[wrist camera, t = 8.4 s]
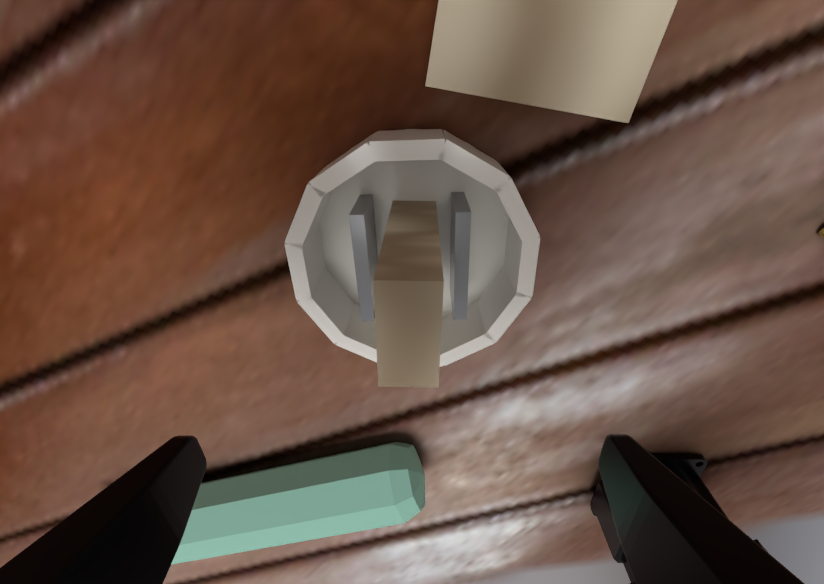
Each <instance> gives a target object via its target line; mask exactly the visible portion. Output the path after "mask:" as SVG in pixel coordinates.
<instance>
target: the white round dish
mask: <svg viewBox="0 0 824 584" xmlns="http://www.w3.org/2000/svg"><path fill="white" fill-rule="evenodd" d="M393 200H401V201H436V207H437V217H438V227H439V238H440V248H441V258H442V268H443V278H444V287H443V307H442V327H441V346H440V366H443V364H444V366H446V365H448V364H450V363H452V362H455V361H457V360H459V359H461V358H463V357H466V356H468V355H470V354H472V353H474V352H477V351H479V350H481V349H483V348H485V347H488V346H490V345H492V344H494V343H495V342H497V341H498V340H499V338H500V337H501V336H502V335H503V333H504V332H505V331H506V330H507V328H508V327H509V326H510V325H511V323H512V322H513V321H514V320H515V318H516V317H517V316H518V315H519V313H520V312H521V311H522V310H523V308H524V307H525V306H526V305H527V304H528V302H529V301H530V300H531V299H532V298H531V297H532V296H533V289H534V281H535V274H536V267H537V260H538V252H539V245H540V235H539V233H538V231H537V229H536V227H535V225H534V223H533V221H532V219H531V217H530V215H529V213H528V211H527V209H526V207H525V205H524V203H523V201H522V199H521V196H520V194H519V192H518V190H517V188H516V186H515V184H514V182H513V180H512V178H511V177H510V176H509V175H508V173H507V172H506V171H505V170H504V169H503V168H502V166H501V165H500V164H499V163H498V162H497V161H496V160H495V159H493V158H491V157H489V156H488V155H486V154H484V153H483V152H481V151H479V150H478V149H476V148H475V147H473V146H472V145H470V144H469V143H467V142H465V141H463V140H461V139H459V138H457V137H456V136H454V135H452V134H450V133H449V132H447V131H445V130H444V129H443V131H442V129H403V130H391V131H377V132H375V133H373V134H372V135H370V136H369V137H367V138H366V139H365V140H363V141H362V142H360V143H359V144H357V145H356V146H354V147H352V148H351V149H350V150H348V151H347V152H346V153H344V154H343V155H341V156H340V157H338V158H337V159H336V160H334V161H333V162H331V163H330V164H328V165H327V166H326V167H325V168H323V169H322V170H321V171H320V172H319V173H318V174H317V175H316V176H315V177H314V178H313V179H312V180H310V181H309V183H308V184H307V186H306V189H305V191H304V194H303V196H302V199H301V201H300V204H299V207H298V209H297V212H296V214H295V217H294V219H293V222H292V224H291V227H290V229H289V232H288V234H287V237H286V240H285V244H284V245H285V249H286V254H287V259H288V264H289V268H290V273H291V278H292V283H293V287H294V292H295V297H296V300H298V301H297V303H298V304H299V305H300V306H301V307H302V308H303V309H304V310H305V312H306V313H307V314H308V315H309V316H310V317H311V318H312V320H313V321H314V322H315V323H316V324H317V325H318V326H319V327H320V329H321V330H322V331H323V332H324V333H325V334H326V335H327V337H328V338H329V339H330V340H331V341H332V342H333V343H334V344H335V343H336V345H337V346H339V347H342V348H344V349H346V350H349V351H351V352H353V353H356V354H358V355H360V356H363V357H365V358H367V359H370V360H372V361H375V362H377V349H376V330H375V310H374V290H373V278H374V274H375V270H376V266H377V262H378V258H379V254H380V250H381V246H382V242H383V238H384V234H385V230H386V226H387V222H388V218H389V214H390V210H391V205H392V201H393Z"/></svg>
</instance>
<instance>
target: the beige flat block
mask: <svg viewBox="0 0 824 584" xmlns="http://www.w3.org/2000/svg"><path fill="white" fill-rule="evenodd" d="M677 1H678V0H438V7H437V13H436V19H435V26H434V32H433V39H432V45H431V52H430V58H429V64H428V71H427V77H426V84H425V86H427V87H432V88H438V89H443V90H449V91H454V92H460V93H465V94H471V95H476V96H482V97H487V98H493V99H498V100H504V101H509V102H515V103H520V104H526V105H531V106H537V107H542V108H548V109H553V110H559V111H564V112H570V113H575V114H580V115H586V116H591V117H597V118H602V119H608V120H613V121H619V122H624V123H629V120H630V118H631V115H632V113H633V110H634V108H635V105H636V103H637V100H638V98H639V95H640V93H641V90H642V88H643V86H644V83H645V81H646V78H647V76H648V73H649V71H650V68H651V66H652V63H653V61H654V58H655V56H656V53H657V51H658V48H659V46H660V43H661V41H662V38H663V36H664V33H665V31H666V28H667V26H668V23H669V21H670V18H671V16H672V13H673V11H674V8H675V6H676V3H677Z"/></svg>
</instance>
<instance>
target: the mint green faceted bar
mask: <svg viewBox="0 0 824 584" xmlns="http://www.w3.org/2000/svg"><path fill="white" fill-rule="evenodd" d="M424 505H425V476H424V472H423V468H422V465H421V461H420V458H419V456H418V454H417V452H416V450H415V448H414V445H411V444H407V443H401V442H393V443H388V444H383V445H379V446H374V447H369V448H364V449H360V450H355V451H350V452H345V453H341V454H336V455H331V456H327V457H322V458H317V459H312V460H308V461H303V462H298V463H293V464H289V465H284V466H279V467H274V468H270V469H265V470H260V471H255V472H251V473H246V474H241V475H236V476H232V477H227V478H222V479H217V480H213V481H208V482H203V483H201V485H200V488H199V491H198V494H197V497H196V500H195V503H194V506H193V509H192V511H191V514H190V517H189V520H188V523H187V526H186V529H185V532H184V535H183V537H182V540H181V543H180V545H179V547H178V550H177V552H176V554H175V557H174V559H173V561H172V563H171V564H177V563H182V562H188V561H194V560H199V559H205V558H211V557H216V556H222V555H228V554H233V553H239V552H245V551H250V550H256V549H262V548H267V547H273V546H278V545H284V544H290V543H295V542H301V541H307V540H312V539H318V538H324V537H329V536H335V535H341V534H346V533H352V532H358V531H363V530H369V529H374V528H380V527H386V526H391V525H397V524H403V523H406V522H407V521H408V520H409V519H411V518H412V517H413V516H415V515H416V514H417V513H419V512H420V511H421V510H422V508H423V507H424Z"/></svg>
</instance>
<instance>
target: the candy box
mask: <svg viewBox="0 0 824 584" xmlns="http://www.w3.org/2000/svg"><path fill="white" fill-rule="evenodd" d="M819 235H820V236H822V237H824V228H823V229H821V230H820V231H819Z"/></svg>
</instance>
